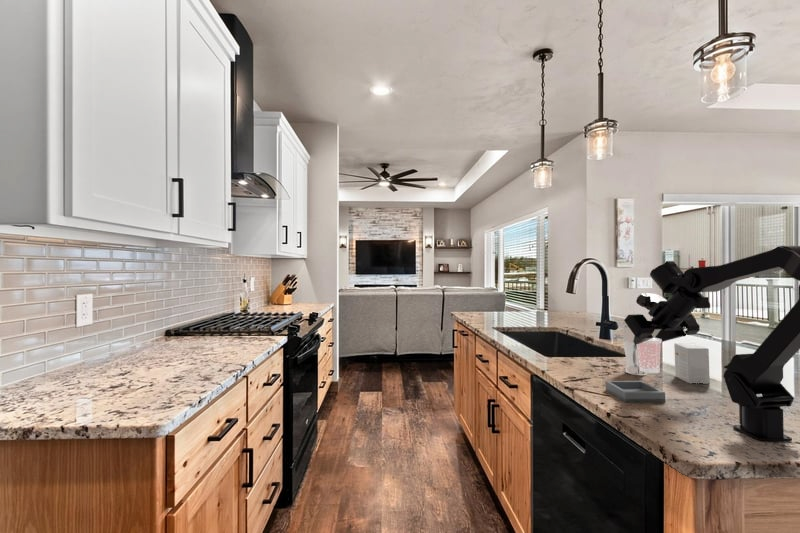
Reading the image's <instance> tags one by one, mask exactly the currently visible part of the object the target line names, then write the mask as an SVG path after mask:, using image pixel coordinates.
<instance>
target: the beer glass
mask: <svg viewBox="0 0 800 533" xmlns="http://www.w3.org/2000/svg"><path fill="white" fill-rule="evenodd" d="M622 328H623V330H622V331H623V332H622V345H623V348H624V349H623V350H624V353H625V362H626V364H625V369H624V372H625V373H626V374H627V373H628V375H632V376H641V377H642V376H647V375H648V373H647V372H642V371H640V366H639V356H638V346H637V345H635V344H634V342H633V340H634V336H635V335H634V334H633V332H632V331H631V330H630V328H629V327H628V325H623V327H622Z"/></svg>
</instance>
